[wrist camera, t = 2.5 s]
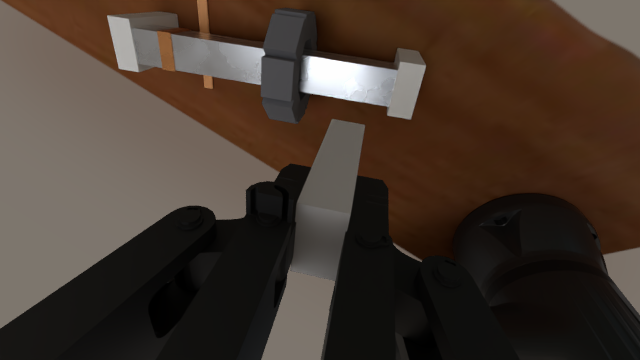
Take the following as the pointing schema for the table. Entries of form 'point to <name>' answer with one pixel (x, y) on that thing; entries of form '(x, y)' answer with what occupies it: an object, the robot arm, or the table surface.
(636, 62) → the table surface
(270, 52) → the ring
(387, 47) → the table surface
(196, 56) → the light grey bar
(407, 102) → the stand
